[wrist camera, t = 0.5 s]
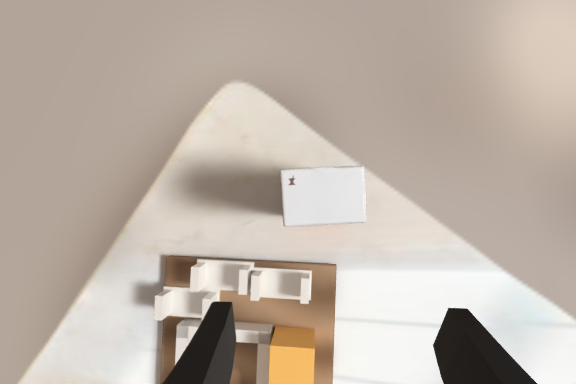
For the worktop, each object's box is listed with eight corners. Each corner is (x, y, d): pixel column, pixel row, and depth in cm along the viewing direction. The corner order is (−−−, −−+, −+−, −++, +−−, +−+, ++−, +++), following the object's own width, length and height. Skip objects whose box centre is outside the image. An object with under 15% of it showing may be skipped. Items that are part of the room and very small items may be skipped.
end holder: (269, 414, 34) (266, 427, 32) (180, 406, 34) (172, 419, 32) (273, 324, 34) (270, 331, 32) (184, 318, 35) (176, 325, 33)
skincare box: (291, 218, 35) (280, 228, 23) (289, 178, 35) (277, 167, 23) (348, 216, 35) (368, 224, 23) (346, 175, 35) (364, 162, 23)
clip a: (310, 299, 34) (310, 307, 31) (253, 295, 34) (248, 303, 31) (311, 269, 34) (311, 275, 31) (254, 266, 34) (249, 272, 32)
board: (330, 418, 34) (331, 424, 33) (163, 403, 35) (159, 409, 34) (335, 264, 34) (336, 266, 33) (170, 255, 36) (166, 257, 35)
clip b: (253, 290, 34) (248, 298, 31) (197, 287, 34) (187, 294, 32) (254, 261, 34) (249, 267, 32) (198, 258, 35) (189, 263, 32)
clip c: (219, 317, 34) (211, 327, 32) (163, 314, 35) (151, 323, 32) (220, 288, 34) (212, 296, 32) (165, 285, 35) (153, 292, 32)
